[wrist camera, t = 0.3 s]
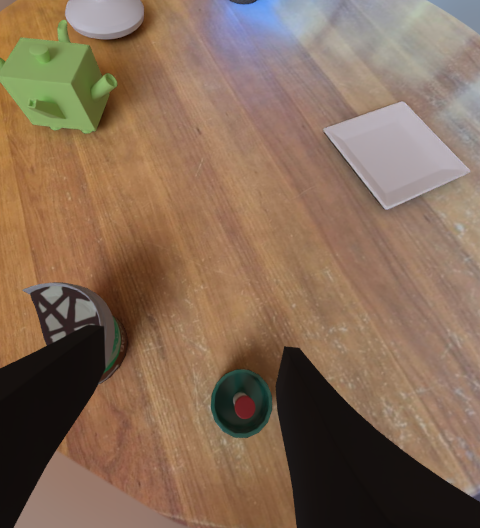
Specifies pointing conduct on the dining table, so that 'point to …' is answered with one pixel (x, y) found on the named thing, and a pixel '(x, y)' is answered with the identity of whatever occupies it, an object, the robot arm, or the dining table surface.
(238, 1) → the mug
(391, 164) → the plate
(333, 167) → the dining table surface
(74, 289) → the cake slice
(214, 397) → the thermos cup
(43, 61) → the kettle
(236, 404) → the marker
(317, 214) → the dining table surface
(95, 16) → the grey lid
